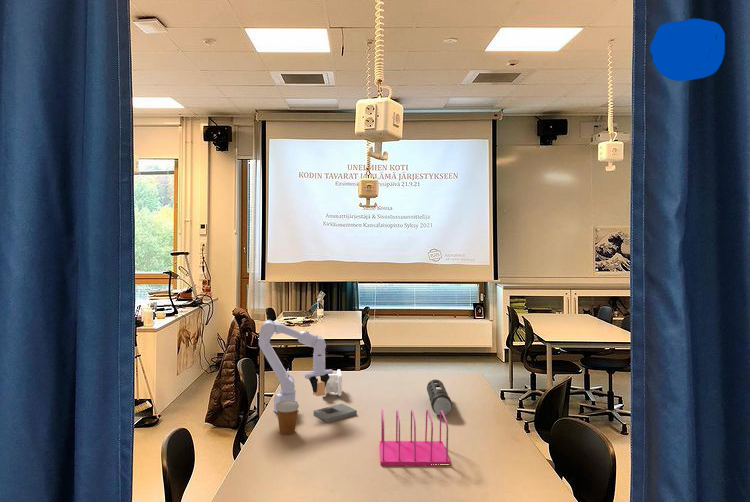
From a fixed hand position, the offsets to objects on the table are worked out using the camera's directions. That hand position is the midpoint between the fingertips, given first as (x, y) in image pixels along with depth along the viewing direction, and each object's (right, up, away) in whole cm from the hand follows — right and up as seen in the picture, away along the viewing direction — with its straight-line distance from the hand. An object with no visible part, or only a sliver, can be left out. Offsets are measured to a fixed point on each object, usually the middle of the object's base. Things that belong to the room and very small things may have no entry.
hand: (318, 391), depth 224 cm
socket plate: (+8, -9, -7) cm, 14 cm away
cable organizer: (+4, -9, +22) cm, 24 cm away
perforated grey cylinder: (+58, -10, +3) cm, 59 cm away
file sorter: (+41, -10, -48) cm, 64 cm away
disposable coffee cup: (-10, -9, -27) cm, 30 cm away
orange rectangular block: (0, -2, 0) cm, 2 cm away
